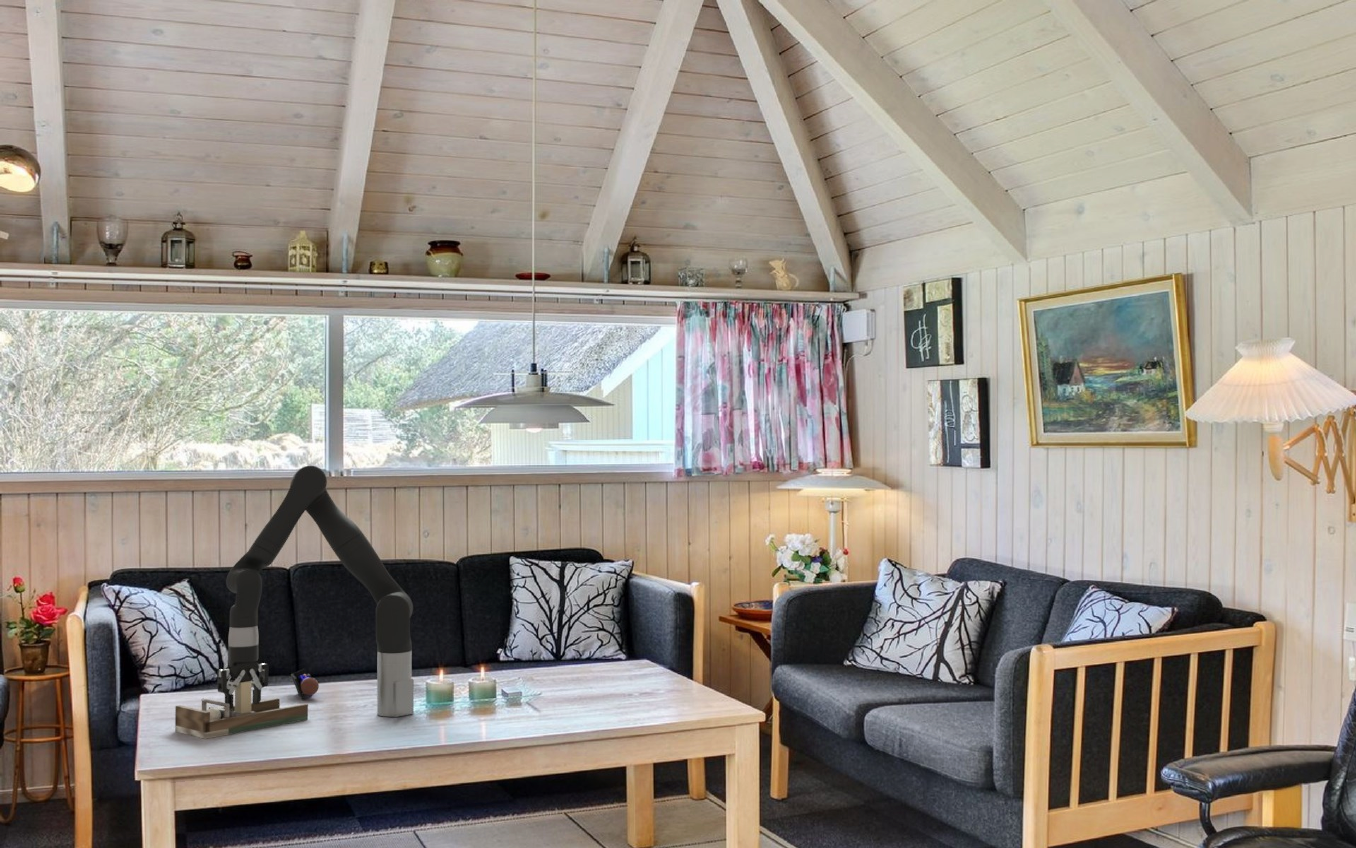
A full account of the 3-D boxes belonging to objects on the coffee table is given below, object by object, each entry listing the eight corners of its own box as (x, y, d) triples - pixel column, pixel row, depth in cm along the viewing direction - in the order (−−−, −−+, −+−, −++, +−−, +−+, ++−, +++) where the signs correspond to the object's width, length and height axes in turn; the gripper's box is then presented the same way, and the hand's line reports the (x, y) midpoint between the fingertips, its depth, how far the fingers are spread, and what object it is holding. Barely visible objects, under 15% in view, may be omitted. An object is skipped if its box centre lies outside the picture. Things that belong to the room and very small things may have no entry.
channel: (307, 719, 334) (307, 691, 335) (205, 738, 311) (205, 708, 311) (276, 712, 343) (277, 685, 344) (175, 731, 320) (175, 702, 320)
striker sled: (261, 719, 325) (261, 682, 326) (231, 724, 319) (232, 687, 319) (238, 714, 332) (238, 678, 332) (208, 719, 325) (208, 682, 326)
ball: (207, 714, 317) (212, 729, 318) (222, 705, 320) (226, 721, 321) (197, 711, 320) (202, 727, 321) (212, 703, 323) (217, 719, 324)
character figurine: (312, 692, 376) (318, 701, 362) (287, 692, 373) (292, 701, 359) (314, 666, 376) (320, 674, 362) (289, 666, 373) (294, 674, 359)
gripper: (226, 648, 320) (226, 712, 319) (275, 641, 331) (275, 703, 331) (210, 645, 325) (210, 708, 324) (259, 639, 336) (259, 700, 335)
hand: (243, 706), depth 327 cm, fingers open, 7 cm apart
